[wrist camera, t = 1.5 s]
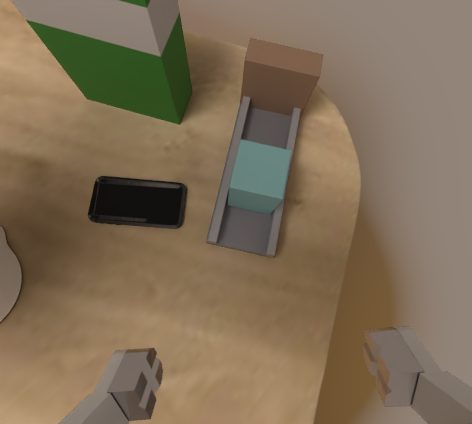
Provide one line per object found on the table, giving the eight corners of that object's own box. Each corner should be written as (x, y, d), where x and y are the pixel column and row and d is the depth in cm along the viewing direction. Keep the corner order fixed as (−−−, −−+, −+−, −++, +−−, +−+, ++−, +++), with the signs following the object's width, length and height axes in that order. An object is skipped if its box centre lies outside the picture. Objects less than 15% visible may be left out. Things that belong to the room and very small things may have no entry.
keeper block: (227, 205, 41) (229, 187, 33) (236, 166, 43) (240, 139, 34) (269, 214, 41) (282, 199, 33) (277, 175, 43) (291, 150, 34)
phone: (96, 175, 42) (186, 183, 43) (99, 177, 44) (187, 185, 44) (86, 221, 41) (180, 229, 41) (89, 222, 42) (181, 230, 42)
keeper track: (206, 243, 42) (201, 232, 30) (244, 89, 49) (251, 35, 38) (272, 257, 42) (291, 252, 30) (300, 102, 49) (323, 51, 38)
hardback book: (86, 98, 47) (-49, -76, 23) (102, 66, 48) (-9, -127, 25) (179, 124, 46) (137, -26, 23) (192, 91, 48) (164, -80, 25)
